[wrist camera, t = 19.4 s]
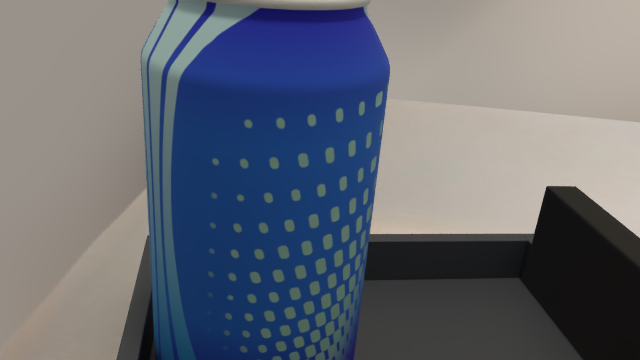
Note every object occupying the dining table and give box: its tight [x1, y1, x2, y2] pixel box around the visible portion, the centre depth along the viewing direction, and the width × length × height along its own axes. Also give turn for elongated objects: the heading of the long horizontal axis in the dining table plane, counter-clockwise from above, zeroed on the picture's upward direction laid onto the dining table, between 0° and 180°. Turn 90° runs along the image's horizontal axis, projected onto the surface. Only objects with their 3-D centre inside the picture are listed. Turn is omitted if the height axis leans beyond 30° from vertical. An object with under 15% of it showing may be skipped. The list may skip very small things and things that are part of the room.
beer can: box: [141, 0, 390, 360], centre depth 23 cm, size 8×8×16 cm
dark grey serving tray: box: [117, 234, 584, 360], centre depth 26 cm, size 22×15×3 cm
